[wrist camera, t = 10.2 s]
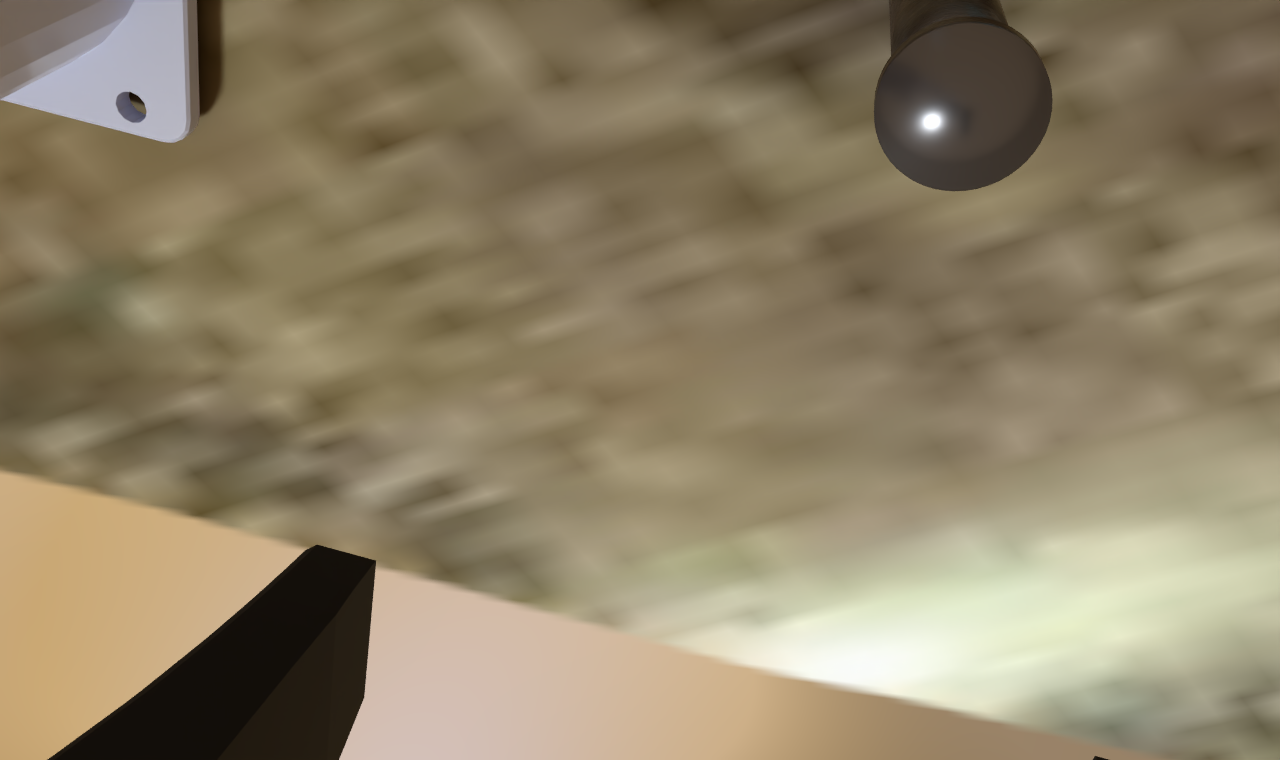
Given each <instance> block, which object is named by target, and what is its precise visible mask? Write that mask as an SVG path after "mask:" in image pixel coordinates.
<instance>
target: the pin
mask: <svg viewBox="0 0 1280 760" xmlns="http://www.w3.org/2000/svg"><path fill="white" fill-rule="evenodd" d="M889 8H890V35H891V57H890V58H889V60H888V61H887V63H886V65H885V67H884V68H883V70H882V73H881V75H880V78H879V80H878V84H877V87H876V91H875V100H874V122H875V128H876V133H877V137H878V140H879V143H880V145H881V147H882V149H883V151H884V153H885V154H886V156H887V157H888V159H889V160H890V161H891V163H892V164H893V165H894V166H895V167H896V168H897V169H898V170H899V171H900V172H902V173H903V174H904V175H905V176H907V177H908V178H910V179H912V180H913V181H915V182H917V183H919V184H922V185H924V186H927V187H930V188H934V189H939V190H945V191H966V190H972V189H978V188H981V187H985V186H988V185H991V184H993V183H995V182H998V181H1000V180H1002V179H1003V178H1005V177H1007V176H1009V175H1010V174H1012V173H1013V172H1014V171H1016V170H1017V169H1018V168H1019V167H1021V166H1022V165H1023V164H1024V163H1025V162H1026V161H1027V160H1028V159H1029V158H1030V157H1031V155H1032V154H1033V153H1034V152H1035V150H1036V149H1037V147H1038V146H1039V144H1040V143H1041V141H1042V139H1043V137H1044V135H1045V133H1046V130H1047V127H1048V124H1049V122H1050V117H1051V112H1052V89H1051V85H1050V80H1049V77H1048V74H1047V72H1046V69H1045V67H1044V64H1043V62H1042V59H1041V57H1040V56H1039V54H1038V52H1037V51H1036V49H1035V48H1034V47H1033V45H1032V44H1031V43H1030V42H1029V41H1028V40H1027V39H1026V38H1025V37H1024V36H1023V35H1022V34H1021V33H1019V32H1018V31H1016V30H1015V29H1013V28H1012V27H1010V26H1008V23H1007V20H1006V17H1005V15H1004V12H1003V9H1002V6H1001V3H1000V0H889Z"/></svg>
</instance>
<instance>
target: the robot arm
mask: <svg viewBox="0 0 1280 760" xmlns="http://www.w3.org/2000/svg"><path fill="white" fill-rule="evenodd" d="M129 92H132V93H134V94H136V95H138V96H139V97H140V99H141V100H142V101H143V102H144V104H145V107H146V110H147V113H146V114H143V113H141V112H139V111H137V110H136V108H135V107H134V106H133V105H132V104H131V101H130V98H129ZM0 100H4V101H7V102H11V103H15V104H19V105H23V106H27V107H31V108H34V109H38V110H42V111H46V112H50V113H54V114H58V115H61V116H65V117H69V118H73V119H77V120H81V121H84V122H88V123H92V124H96V125H100V126H104V127H108V128H111V129H115V130H119V131H123V132H127V133H131V134H135V135H138V136H142V137H146V138H150V139H154V140H158V141H162V142H172V143H174V142H177V141H179V140H182V139H184V138H185V137H186V136H188V135H189V134H191V133H192V132H193V131H194V129H195V128H196V127H197V126H198V121H199V116H200V108H199V68H198V27H197V0H0ZM375 567H376V561H375V560H372V559H368V558H364V557H361V556H357V555H353V554H349V553H346V552H342V551H338V550H335V549H331V548H327V547H324V546H320V545H315V546H313V547H311V548H309V549H307V550H305V551H304V552H303V553H302V554H301V555H300V556H299V557H298V558H297V559H296V560H295V561H294V562H293V563H291V564H290V565H289V566H288V567H287V568H286V569H285V570H284V571H283V572H282V573H281V574H280V575H278V576H277V577H276V578H275V579H274V580H273V581H272V582H271V583H270V584H269V585H267V586H266V587H265V588H264V589H263V590H262V591H261V592H260V593H259V594H257V595H256V596H255V597H254V598H253V599H252V600H251V601H249V602H248V603H247V604H246V605H245V606H244V607H243V608H241V609H240V610H239V611H238V612H237V613H236V614H235V615H233V616H232V617H231V618H230V619H229V620H227V621H226V622H225V623H224V624H223V625H222V626H220V627H219V628H218V629H217V630H216V631H215V632H214V633H212V634H211V635H210V636H209V637H208V638H206V639H205V640H204V641H203V642H201V643H200V644H199V645H198V646H196V647H195V648H194V649H193V650H191V651H190V652H189V653H188V654H187V655H185V656H184V657H183V658H182V659H180V660H179V661H178V662H177V663H175V664H174V665H173V666H172V667H170V668H169V669H168V670H167V671H165V672H164V673H163V674H162V675H161V676H159V677H158V678H157V679H155V680H154V681H153V682H152V683H150V684H149V685H148V686H147V687H145V688H144V689H143V690H142V691H141V692H139V693H138V694H136V695H135V696H134V697H133V698H131V699H130V700H129V701H127V702H126V703H125V704H123V705H122V706H121V707H119V708H118V709H117V710H115V711H114V712H112V713H111V714H110V715H108V716H107V717H106V718H104V719H103V720H102V721H100V722H99V723H97V724H96V725H95V726H93V727H92V728H90V729H89V730H88V731H86V732H85V733H84V734H82V735H81V736H79V737H78V738H77V739H76V740H74V741H73V742H71V743H70V744H69V745H67V746H66V747H64V748H63V749H62V750H60V751H59V752H58V753H56V754H55V755H53V756H52V757H51V758H49V759H48V760H339V758H340V756H341V753H342V751H343V748H344V746H345V743H346V741H347V739H348V736H349V734H350V731H351V729H352V726H353V724H354V721H355V718H356V716H357V714H358V711H359V709H360V706H361V704H362V701H363V699H364V692H365V680H366V670H367V659H368V646H369V636H370V624H371V612H372V601H373V590H374V578H375ZM1093 760H1108V759H1104V758H1100V757H1097V756H1095V757H1094V759H1093Z"/></svg>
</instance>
